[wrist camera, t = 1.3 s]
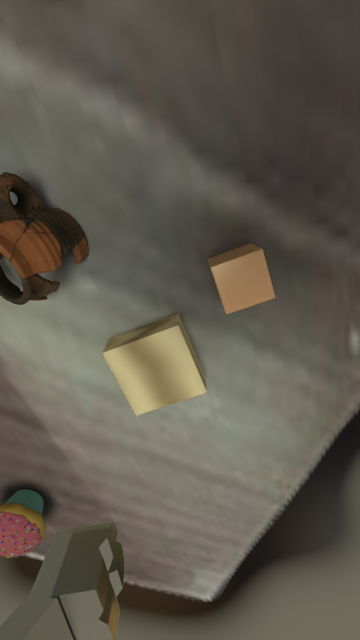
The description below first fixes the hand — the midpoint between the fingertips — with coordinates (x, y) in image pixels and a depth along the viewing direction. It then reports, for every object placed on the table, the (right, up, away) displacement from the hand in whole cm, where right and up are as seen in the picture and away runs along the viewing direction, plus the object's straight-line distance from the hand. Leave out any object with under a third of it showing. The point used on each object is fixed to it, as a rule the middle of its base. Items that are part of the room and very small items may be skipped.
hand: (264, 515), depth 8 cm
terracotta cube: (+4, +11, +25) cm, 27 cm away
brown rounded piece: (-17, +14, +24) cm, 33 cm away
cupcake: (-26, -22, +38) cm, 51 cm away
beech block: (-5, +1, +29) cm, 30 cm away
